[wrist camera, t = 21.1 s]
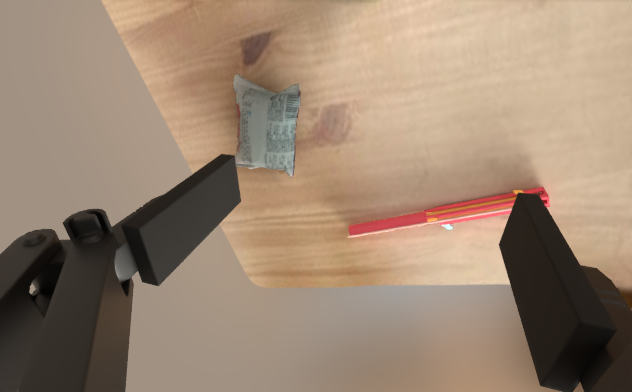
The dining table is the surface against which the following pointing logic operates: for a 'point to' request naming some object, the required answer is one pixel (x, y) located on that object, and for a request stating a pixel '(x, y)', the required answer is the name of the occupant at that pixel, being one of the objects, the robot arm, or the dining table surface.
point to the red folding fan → (447, 214)
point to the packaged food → (266, 126)
